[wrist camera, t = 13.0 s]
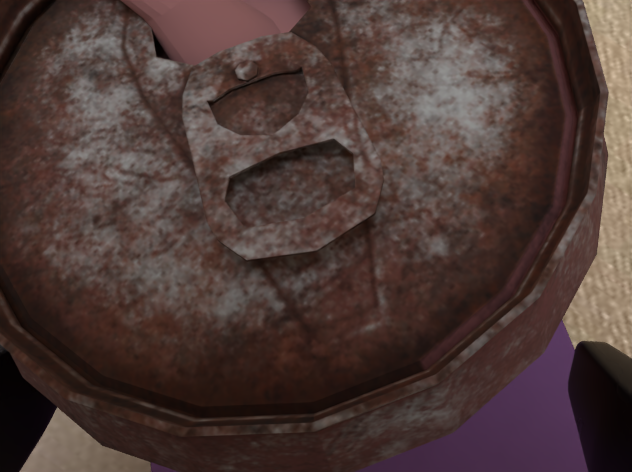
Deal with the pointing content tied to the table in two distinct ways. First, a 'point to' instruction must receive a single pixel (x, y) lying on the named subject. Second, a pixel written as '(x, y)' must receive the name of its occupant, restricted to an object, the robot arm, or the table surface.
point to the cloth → (507, 427)
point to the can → (291, 216)
